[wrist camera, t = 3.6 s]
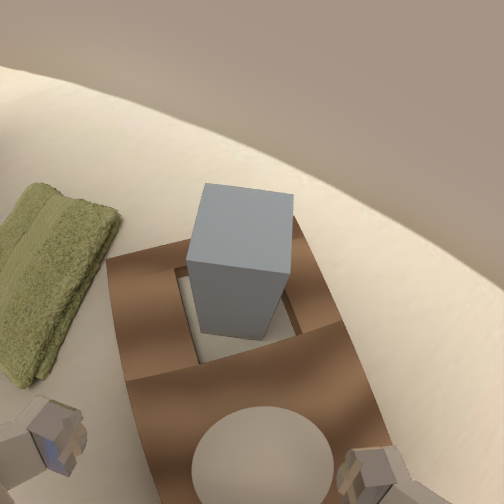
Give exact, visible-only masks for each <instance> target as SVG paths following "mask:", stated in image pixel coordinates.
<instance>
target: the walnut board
mask: <svg viewBox="0 0 504 504" xmlns="http://www.w3.org/2000/svg"><path fill="white" fill-rule="evenodd" d="M190 241H191V239H188V240H183V241H179V242H175V243H171V244H166V245H162V246H158V247H154V248H150V249H146V250H142V251H138V252H134V253H129V254H125V255H121V256H117V257H113V258H109V259H106V266H107V275H108V284H109V292H110V299H111V306H112V313H113V320H114V326H115V332H116V338H117V343H118V348H119V354H120V359H121V364H122V368H123V373H124V378H125V382H126V386H127V391H128V395H129V399H130V403H131V407H132V411H133V414H134V418H135V422H136V425H137V429H138V432H139V436H140V439H141V443H142V446H143V449H144V452H145V455H146V459H147V462H148V465H149V468H150V471H151V474H152V476H153V479H154V482H155V485H156V488H157V490H158V493H159V496H160V498H161V501H162V503H163V504H202V502H201V501H200V499H199V498H198V495H197V493H196V491H195V488H194V485H193V480H192V461H193V456H194V453H195V450H196V448H197V446H198V444H199V442H200V440H201V439H202V437H203V436H204V434H205V433H206V432H207V431H208V430H209V429H210V428H211V427H212V426H213V425H214V424H215V423H216V422H218V421H219V420H221V419H222V418H224V417H225V416H227V415H229V414H231V413H234V412H236V411H239V410H242V409H246V408H250V407H259V406H271V407H279V408H284V409H288V410H290V411H293V412H296V413H298V414H300V415H302V416H304V417H305V418H307V419H308V420H310V421H311V422H312V423H313V424H314V425H315V426H317V427H318V429H319V430H320V431H321V432H322V433H323V435H324V436H325V438H326V439H327V441H328V444H329V446H330V448H331V452H332V455H333V462H334V472H333V479H332V482H331V486H330V488H329V491H328V493H327V495H326V497H325V498H324V500H323V501H322V503H321V504H341V503H340V501H341V499H342V498H343V495H342V494H341V493H340V492H339V491H338V489H337V483H336V478H337V472H338V469H339V467H340V465H341V464H343V463H344V462H346V458H345V456H346V454H347V452H348V451H349V450H350V449H354V448H369V447H383V446H393V445H392V442H391V440H390V437H389V434H388V432H387V429H386V426H385V424H384V421H383V418H382V416H381V413H380V410H379V408H378V405H377V403H376V400H375V398H374V395H373V392H372V390H371V387H370V385H369V382H368V380H367V377H366V375H365V372H364V370H363V368H362V365H361V363H360V360H359V358H358V355H357V353H356V351H355V348H354V346H353V344H352V341H351V339H350V336H349V334H348V332H347V329H346V327H345V325H344V322H343V320H342V318H341V316H340V313H339V311H338V309H337V307H336V304H335V302H334V300H333V298H332V295H331V293H330V291H329V289H328V286H327V284H326V282H325V280H324V278H323V275H322V273H321V271H320V269H319V267H318V265H317V262H316V260H315V258H314V256H313V254H312V252H311V250H310V247H309V245H308V243H307V241H306V239H305V237H304V235H303V233H302V231H301V229H300V227H299V224H298V222H297V220H296V218H295V216H293V225H292V248H291V269H290V276H289V278H288V280H287V283H286V285H285V288H284V290H283V292H282V295H281V297H282V300H283V303H284V305H285V308H286V310H287V313H288V315H289V318H290V320H291V323H292V326H293V328H294V331H295V333H296V336H294V337H291V338H288V339H285V340H282V341H279V342H276V343H273V344H269V345H266V346H263V347H260V348H256V349H253V350H250V351H246V352H243V353H239V354H236V355H232V356H229V357H225V358H222V359H218V360H214V361H210V362H207V363H203V364H199V362H198V358H197V355H196V351H195V348H194V344H193V341H192V337H191V333H190V330H189V326H188V322H187V318H186V315H185V311H184V307H183V303H182V299H181V295H180V291H179V287H178V283H177V279H176V278H178V277H182V276H186V275H189V273H188V268H187V263H186V257H187V253H188V249H189V245H190Z"/></svg>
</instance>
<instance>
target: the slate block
mask: <svg viewBox="0 0 504 504" xmlns="http://www.w3.org/2000/svg"><path fill="white" fill-rule="evenodd" d="M293 196H294V195H293V194H286V193H279V192H272V191H265V190H258V189H250V188H243V187H235V186H227V185H218V184H210V183H205V186H204V190H203V193H202V197H201V201H200V205H199V209H198V213H197V216H196V220H195V224H194V228H193V232H192V237H191V241H190V245H189V249H188V253H187V257H186V263H187V268H188V273H189V278H190V283H191V288H192V293H193V298H194V303H195V307H196V312H197V317H198V321H199V326H200V330H201V333H207V334H213V335H220V336H228V337H235V338H243V339H251V340H259V341H262V339H263V337H264V334H265V332H266V330H267V327H268V325H269V323H270V321H271V318H272V316H273V314H274V311H275V309H276V307H277V304H278V302H279V299H280V297H281V295H282V292H283V290H284V288H285V285H286V283H287V280H288V278H289V276H290V269H291V248H292V225H293Z"/></svg>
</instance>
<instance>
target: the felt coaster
mask: <svg viewBox="0 0 504 504" xmlns="http://www.w3.org/2000/svg"><path fill="white" fill-rule="evenodd" d="M333 472H334V462H333V455H332V452H331V448H330V446H329V444H328V441H327V439H326V438H325V436H324V435H323V433H322V432H321V431H320V430H319V429H318V427H317V426H315V425H314V424H313V423H312V422H311V421H310V420H308V419H307V418H305V417H304V416H302V415H300V414H298V413H296V412H293V411H290V410H288V409H284V408H279V407H271V406H259V407H250V408H246V409H242V410H239V411H236V412H234V413H231V414H229V415H227V416H225V417H224V418H222V419H221V420H219V421H218V422H216V423H215V424H214V425H213V426H212V427H211V428H210V429H209V430H208V431H207V432H206V433H205V434H204V436H203V437H202V439H201V440H200V442H199V444H198V446H197V448H196V450H195V453H194V456H193V461H192V480H193V485H194V488H195V491H196V493H197V495H198V498H199V499H200V501H201V502H202V504H321V503H322V501H323V500H324V498H325V497H326V495H327V493H328V491H329V488H330V486H331V482H332V479H333Z"/></svg>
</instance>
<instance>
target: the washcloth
mask: <svg viewBox="0 0 504 504" xmlns="http://www.w3.org/2000/svg"><path fill="white" fill-rule="evenodd" d="M117 211H118V210H115V209H114V208H111V207H107V206H103V205H99V204H95V203H93V204H92V203H91V202H90V201H89V202H88V201H85V200H83V199H75V200H74V199H72V198H68V197H65V196H63V194H61V193H60V192H59V191H58V190H56V188H53V187H51V186H50V185H48V184H44V183H33V184H31V185H30V186H28V187H27V189H26V190H25V191H24V193H23V194H22V195H21V197H20V198H19V200H18V202H17V203H16V206H15V208H14V209H13V211H12V212H11V214H10V215H9V217H8V218H7V219H6V221H5V222H4V223H3V224H2V225H1V226H0V369H1V370H2V371H3V372H4V373H5V374H6V375H7V376H8V378H9V379H10V380H11V382H12V383H13V384H15V385H16V387H18V388H20V389H25V388H26V387H27V385H29V386H30V384H31V383H32V382H33V377H34V376H35V377H37V378H39V379H41V380H45V379H46V377H47V375H48V374H50V370H51V366H52V364H53V363H54V360H55V357H56V356H57V353H58V349H59V346H60V344H62V341H63V340H64V337H65V335H66V331H67V329H68V327H69V324H70V322H71V319H73V318H74V316H75V314H76V311H77V310H78V308H79V304H80V303H81V300H82V299H83V297H84V294H85V293H84V292H85V291H86V290H87V287H88V286H89V285H90V284H91V279H92V278H93V276H94V274H96V272H97V269H98V268H99V262H101V260H102V259H103V256H104V255H105V252H106V251H107V250H108V248H109V246H110V245H109V244H110V243H111V241H112V238H113V237H114V236H115V235H116V233H117V227H118V224H119V219H120V216H121V215H120V214H118V213H117Z"/></svg>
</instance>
